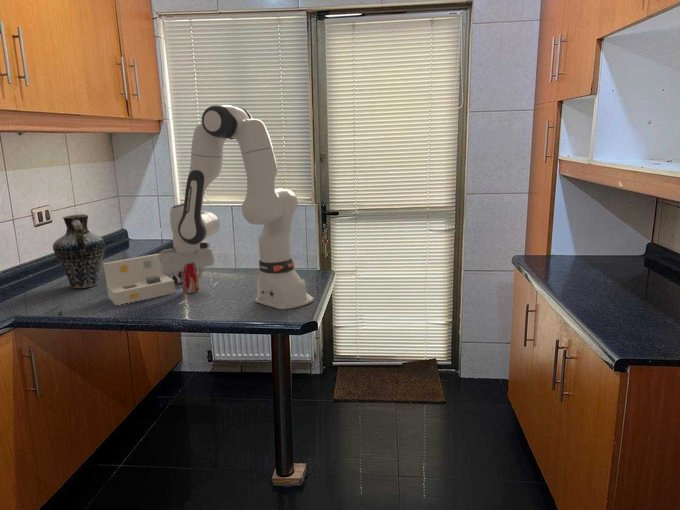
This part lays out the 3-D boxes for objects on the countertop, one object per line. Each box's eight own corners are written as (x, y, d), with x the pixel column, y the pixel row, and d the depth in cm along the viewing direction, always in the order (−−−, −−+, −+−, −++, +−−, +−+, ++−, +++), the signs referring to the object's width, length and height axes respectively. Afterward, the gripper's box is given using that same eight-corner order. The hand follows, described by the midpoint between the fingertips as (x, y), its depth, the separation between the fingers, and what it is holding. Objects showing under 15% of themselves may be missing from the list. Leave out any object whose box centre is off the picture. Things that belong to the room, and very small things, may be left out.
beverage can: (196, 294, 197) (193, 263, 194) (180, 294, 197) (176, 264, 194) (201, 289, 203) (198, 259, 200) (186, 289, 203) (182, 260, 200)
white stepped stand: (176, 292, 200) (171, 258, 196) (116, 306, 187) (110, 269, 184) (165, 286, 209) (161, 252, 206) (108, 298, 197) (103, 263, 194)
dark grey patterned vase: (55, 286, 218) (42, 216, 211) (103, 276, 230) (92, 210, 223) (67, 296, 203) (53, 221, 195) (118, 285, 215) (106, 214, 207)
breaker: (161, 287, 199) (159, 277, 198) (150, 289, 197) (149, 279, 196) (158, 285, 202) (156, 275, 201) (147, 287, 200) (146, 277, 199)
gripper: (160, 252, 187) (165, 288, 191) (213, 242, 199) (217, 276, 202) (155, 249, 192) (160, 284, 196) (207, 240, 204) (211, 273, 207)
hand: (189, 280), depth 199 cm, fingers closed on beverage can, 6 cm apart
